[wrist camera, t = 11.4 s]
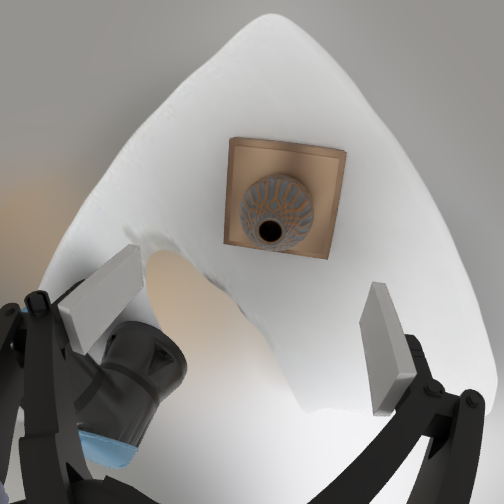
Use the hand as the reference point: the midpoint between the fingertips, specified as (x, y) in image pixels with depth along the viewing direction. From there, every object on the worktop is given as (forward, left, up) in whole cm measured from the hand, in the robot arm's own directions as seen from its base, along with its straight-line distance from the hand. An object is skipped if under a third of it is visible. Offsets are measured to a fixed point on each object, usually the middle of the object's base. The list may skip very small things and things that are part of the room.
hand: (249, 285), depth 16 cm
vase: (0, 0, -17) cm, 17 cm away
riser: (0, 0, -20) cm, 20 cm away
